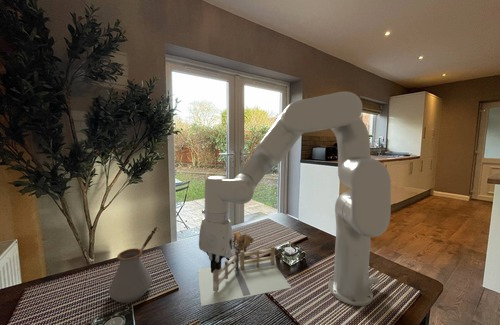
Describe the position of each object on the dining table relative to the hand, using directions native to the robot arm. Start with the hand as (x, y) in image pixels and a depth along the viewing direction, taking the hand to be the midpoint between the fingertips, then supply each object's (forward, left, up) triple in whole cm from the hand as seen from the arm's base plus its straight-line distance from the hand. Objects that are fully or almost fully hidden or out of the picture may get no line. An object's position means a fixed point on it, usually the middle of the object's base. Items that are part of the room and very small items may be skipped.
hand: (215, 270), depth 69 cm
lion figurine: (-14, -20, -5) cm, 25 cm away
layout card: (-9, -1, -5) cm, 10 cm away
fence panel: (-4, -1, -4) cm, 6 cm away
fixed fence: (-16, -6, -5) cm, 17 cm away
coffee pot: (+23, -8, -5) cm, 25 cm away
